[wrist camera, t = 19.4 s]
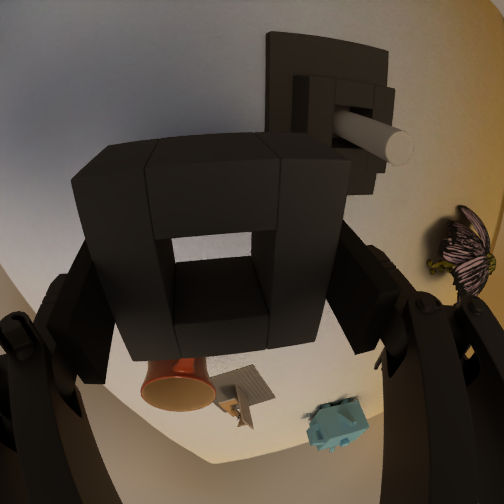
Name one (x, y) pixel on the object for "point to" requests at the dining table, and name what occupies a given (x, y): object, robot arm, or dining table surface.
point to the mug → (178, 384)
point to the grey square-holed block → (210, 223)
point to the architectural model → (240, 392)
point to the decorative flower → (466, 256)
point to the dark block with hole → (322, 114)
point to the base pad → (345, 122)
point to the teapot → (337, 425)
